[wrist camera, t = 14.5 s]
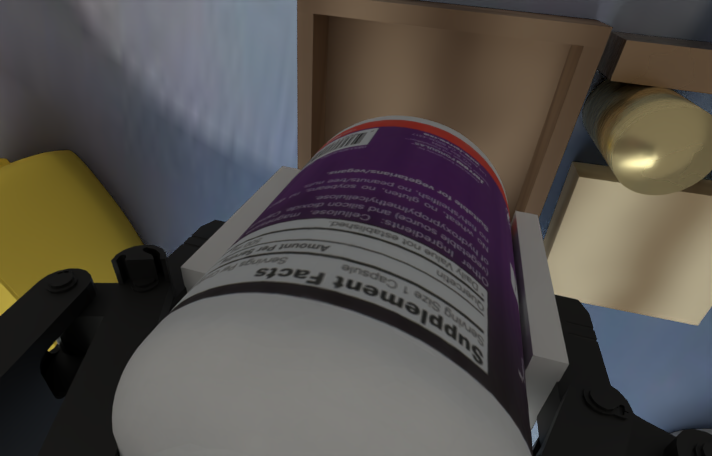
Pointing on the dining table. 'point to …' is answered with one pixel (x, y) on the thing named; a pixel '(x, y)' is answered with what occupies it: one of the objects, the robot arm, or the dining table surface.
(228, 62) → the dining table surface
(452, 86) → the tray
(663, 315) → the tan square slab
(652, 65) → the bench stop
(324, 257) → the pill bottle
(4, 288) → the teapot
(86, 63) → the dining table surface
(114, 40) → the dining table surface
